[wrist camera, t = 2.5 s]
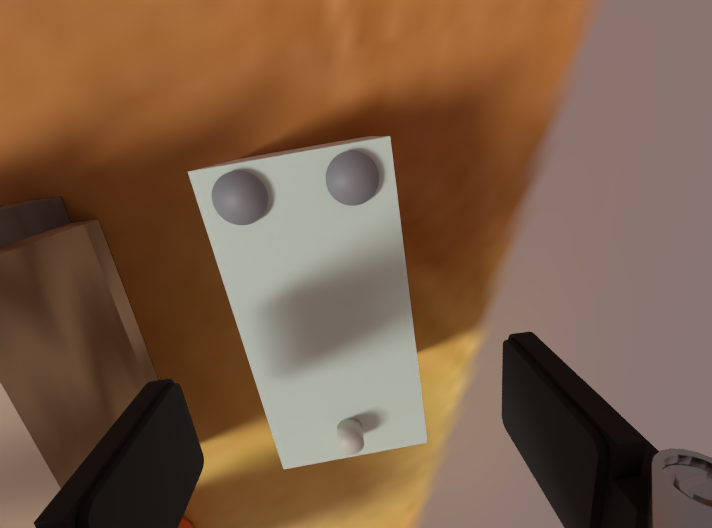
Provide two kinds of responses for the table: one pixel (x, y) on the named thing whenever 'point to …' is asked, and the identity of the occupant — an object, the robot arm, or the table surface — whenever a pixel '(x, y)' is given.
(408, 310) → the white block with knobs
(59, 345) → the brown boxy piece
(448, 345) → the table surface
